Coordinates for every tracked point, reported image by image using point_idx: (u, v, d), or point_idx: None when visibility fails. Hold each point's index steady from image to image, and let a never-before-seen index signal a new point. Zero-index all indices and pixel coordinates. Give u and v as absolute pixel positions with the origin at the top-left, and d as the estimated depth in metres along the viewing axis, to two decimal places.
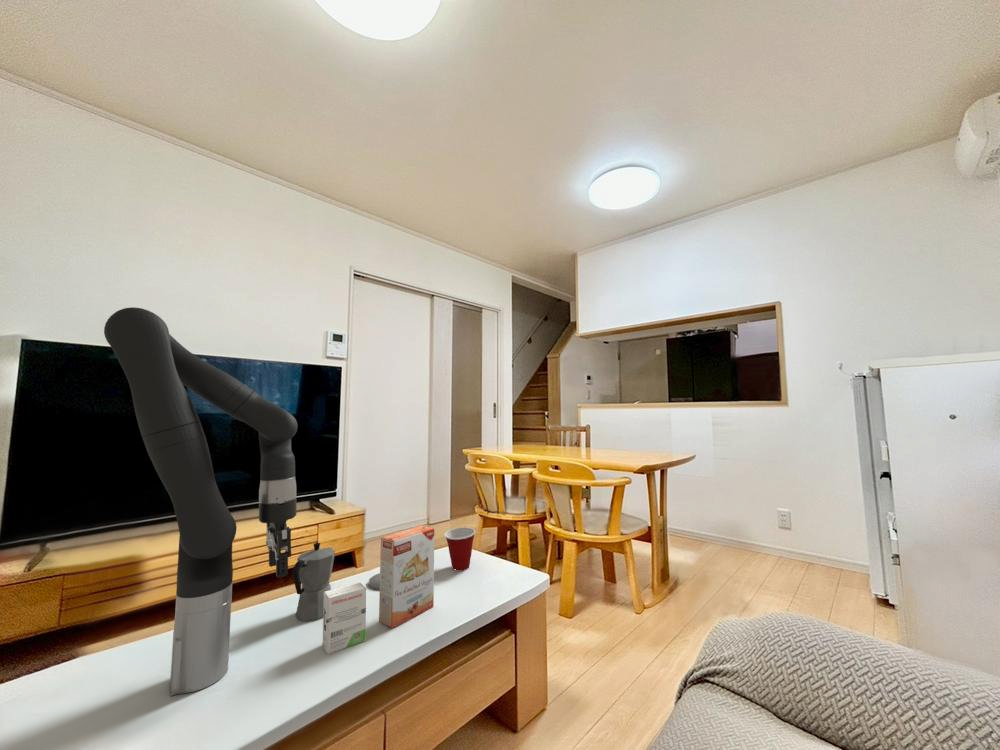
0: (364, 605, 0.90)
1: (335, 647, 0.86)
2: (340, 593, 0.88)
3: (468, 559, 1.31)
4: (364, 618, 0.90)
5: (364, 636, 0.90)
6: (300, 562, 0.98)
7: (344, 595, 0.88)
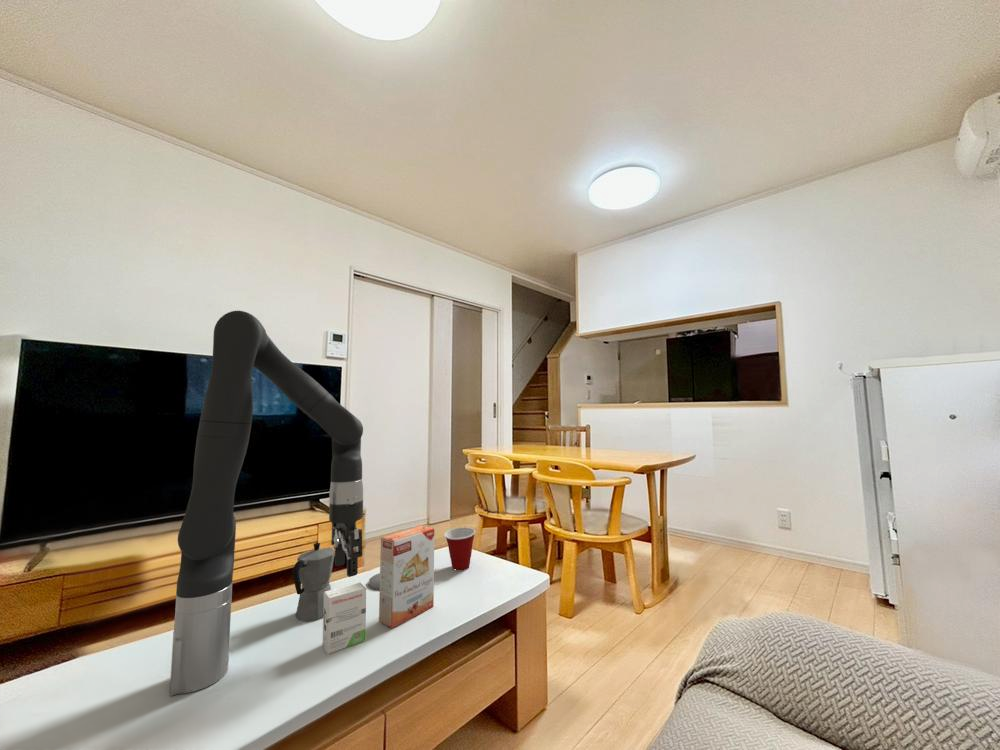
0: (364, 605, 0.90)
1: (335, 647, 0.86)
2: (340, 593, 0.88)
3: (468, 559, 1.31)
4: (364, 618, 0.90)
5: (364, 636, 0.90)
6: (300, 562, 0.98)
7: (344, 595, 0.88)
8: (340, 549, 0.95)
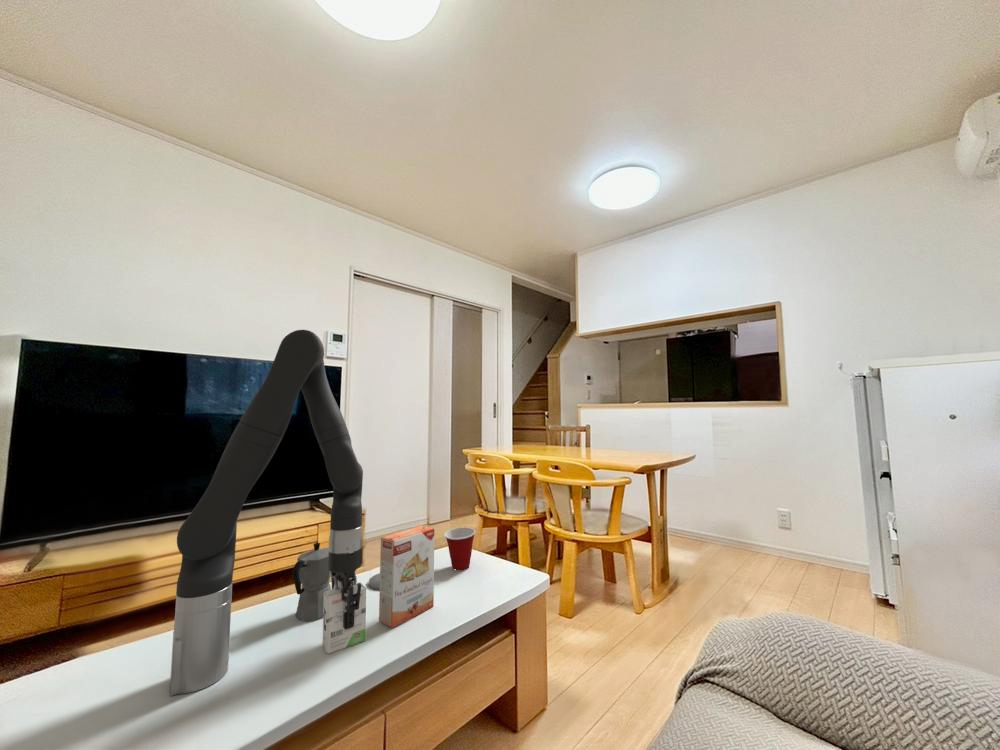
0: (364, 605, 0.90)
1: (335, 647, 0.86)
2: None
3: (468, 559, 1.31)
4: (364, 618, 0.90)
5: (364, 636, 0.90)
6: (300, 562, 0.98)
7: (344, 595, 0.88)
8: None
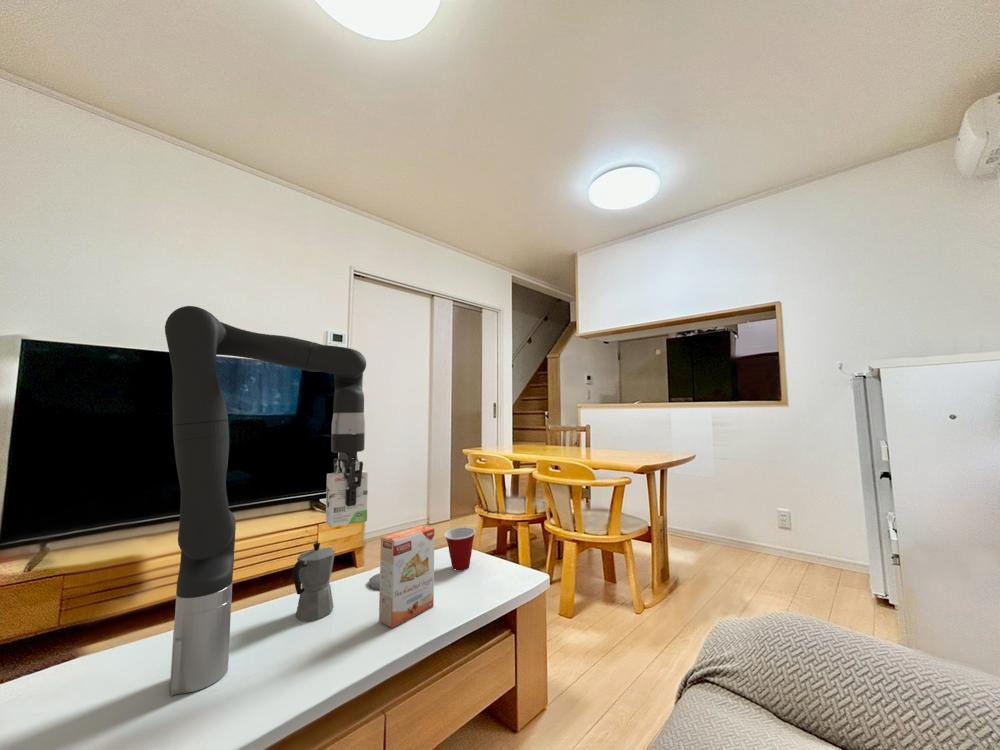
0: (366, 487, 0.93)
1: (338, 522, 0.89)
2: None
3: (468, 559, 1.31)
4: (366, 500, 0.93)
5: (366, 517, 0.93)
6: (300, 562, 0.98)
7: (347, 474, 0.91)
8: None
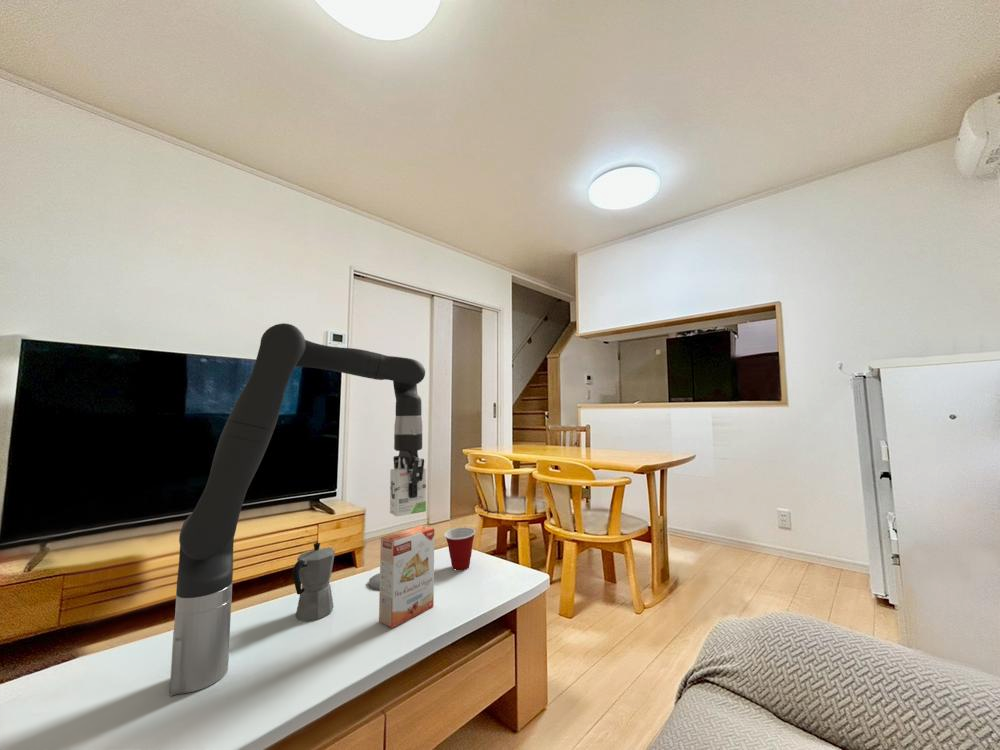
0: (424, 481, 1.06)
1: (402, 512, 1.01)
2: (405, 469, 1.04)
3: (468, 559, 1.31)
4: (425, 493, 1.05)
5: (425, 507, 1.05)
6: (300, 562, 0.98)
7: None
8: None
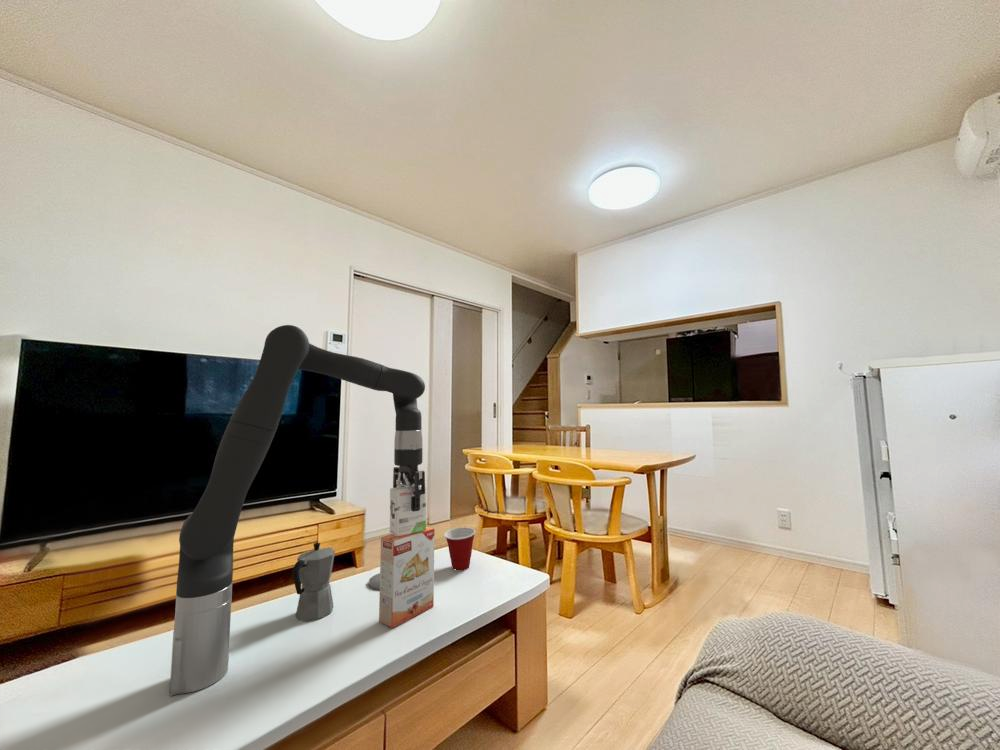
0: (424, 500, 1.05)
1: (403, 532, 1.01)
2: (405, 488, 1.03)
3: (468, 559, 1.31)
4: (425, 511, 1.05)
5: (425, 526, 1.05)
6: (300, 562, 0.98)
7: None
8: None
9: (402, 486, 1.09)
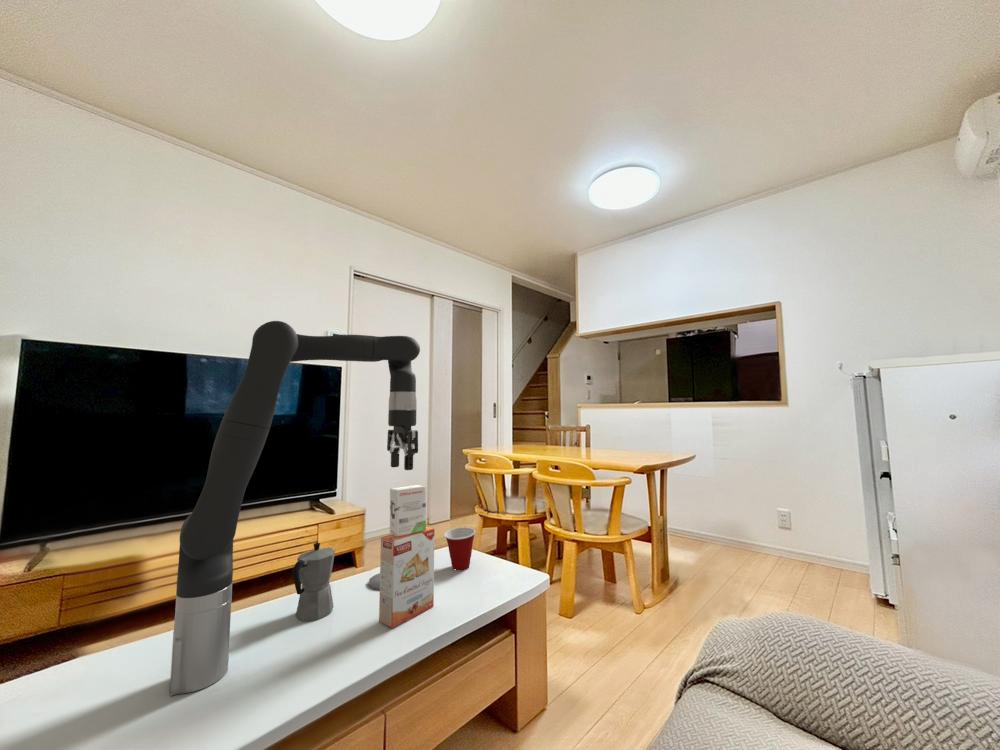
0: (424, 500, 1.05)
1: (402, 532, 1.01)
2: (405, 488, 1.03)
3: (468, 559, 1.31)
4: (425, 511, 1.05)
5: (425, 526, 1.05)
6: (300, 562, 0.98)
7: (409, 489, 1.03)
8: (395, 453, 1.09)
9: (396, 448, 1.10)
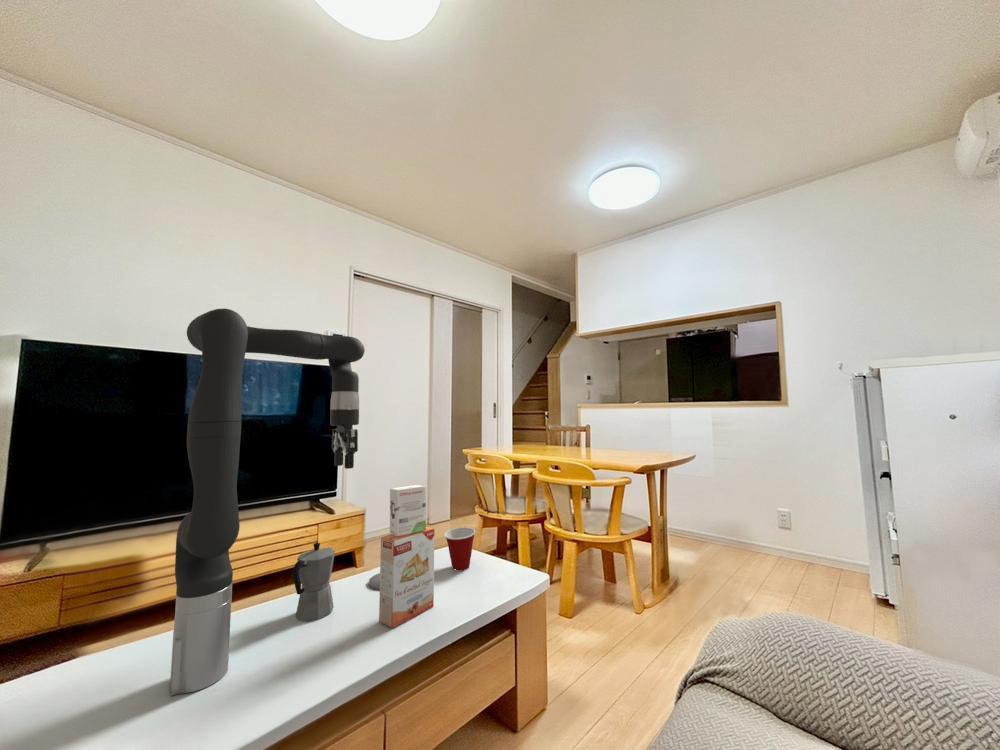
0: (424, 500, 1.05)
1: (402, 532, 1.01)
2: (405, 488, 1.03)
3: (468, 559, 1.31)
4: (425, 511, 1.05)
5: (425, 526, 1.05)
6: (300, 562, 0.98)
7: (409, 489, 1.03)
8: (339, 452, 1.11)
9: (340, 447, 1.12)
